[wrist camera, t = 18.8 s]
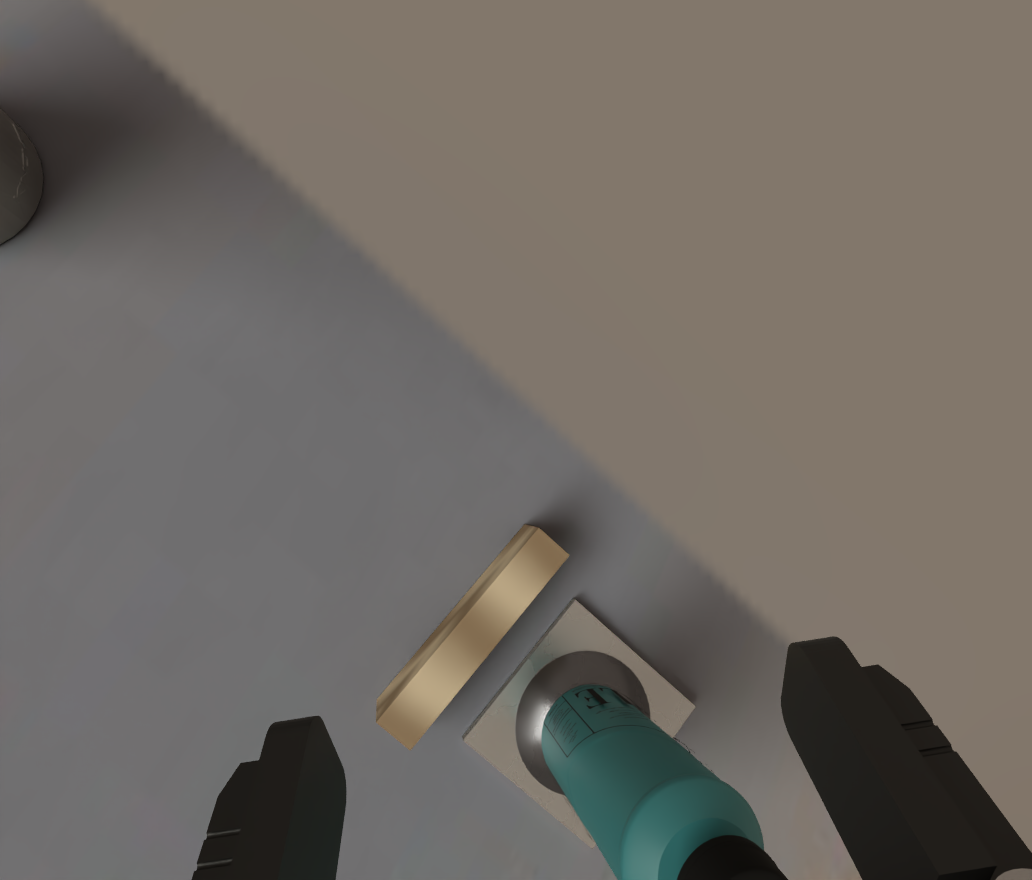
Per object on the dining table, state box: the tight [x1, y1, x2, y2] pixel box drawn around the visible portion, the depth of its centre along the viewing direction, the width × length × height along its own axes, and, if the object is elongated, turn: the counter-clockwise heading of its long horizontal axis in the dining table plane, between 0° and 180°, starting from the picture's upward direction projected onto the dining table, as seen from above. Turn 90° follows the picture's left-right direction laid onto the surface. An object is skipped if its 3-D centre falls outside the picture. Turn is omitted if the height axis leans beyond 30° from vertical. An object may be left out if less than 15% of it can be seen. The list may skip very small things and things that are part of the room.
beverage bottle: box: [541, 683, 788, 880], centre depth 31 cm, size 6×7×20 cm
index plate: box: [462, 599, 696, 849], centre depth 41 cm, size 11×11×1 cm
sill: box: [376, 524, 569, 750], centre depth 39 cm, size 14×2×4 cm, turn 139°
